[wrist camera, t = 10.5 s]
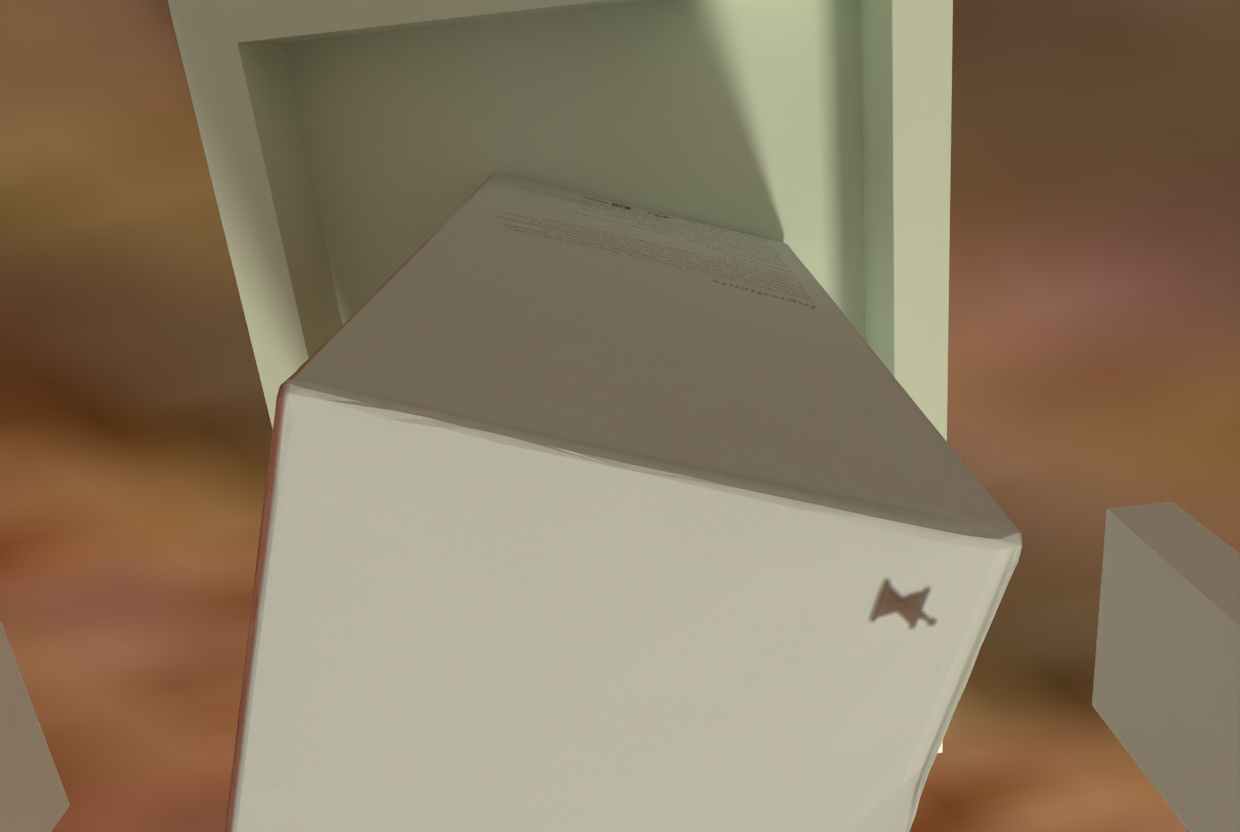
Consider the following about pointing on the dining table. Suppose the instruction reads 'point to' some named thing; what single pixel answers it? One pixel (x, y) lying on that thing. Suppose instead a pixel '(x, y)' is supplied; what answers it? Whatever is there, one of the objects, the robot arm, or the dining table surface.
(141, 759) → the dining table surface
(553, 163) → the tray
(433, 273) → the small box
